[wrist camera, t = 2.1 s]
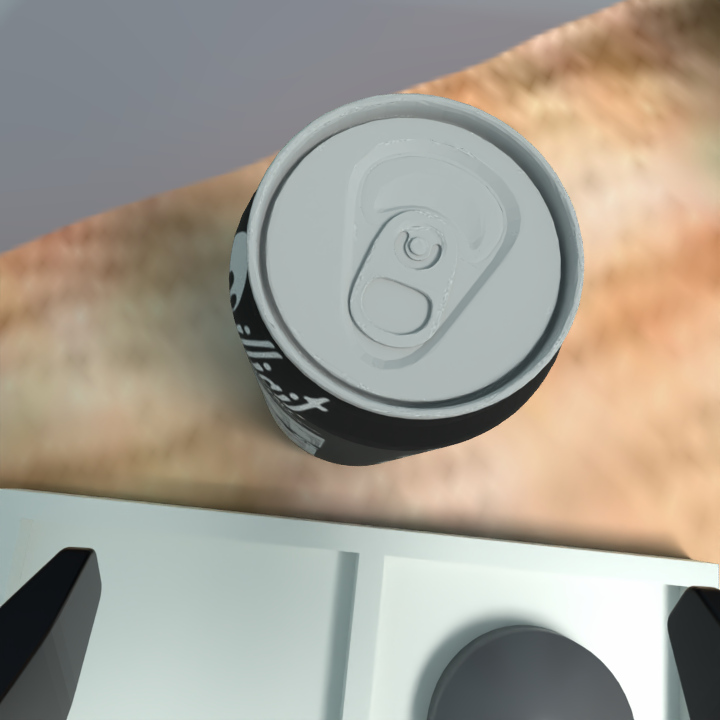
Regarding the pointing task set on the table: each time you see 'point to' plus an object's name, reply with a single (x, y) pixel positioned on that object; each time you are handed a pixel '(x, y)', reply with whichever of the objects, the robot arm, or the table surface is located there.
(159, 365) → the table surface
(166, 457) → the table surface
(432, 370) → the beverage can
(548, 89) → the table surface
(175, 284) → the table surface
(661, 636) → the white divided tray
